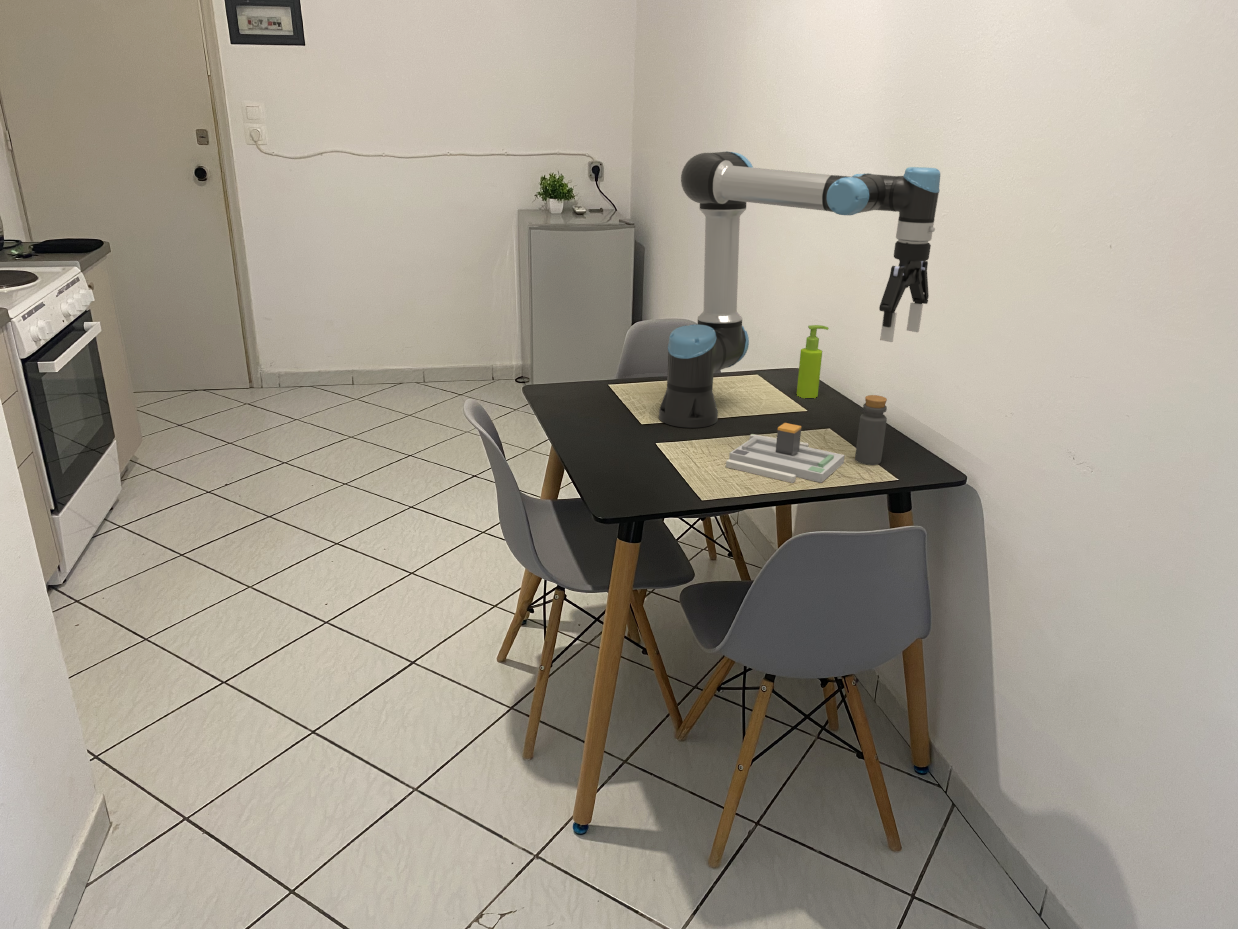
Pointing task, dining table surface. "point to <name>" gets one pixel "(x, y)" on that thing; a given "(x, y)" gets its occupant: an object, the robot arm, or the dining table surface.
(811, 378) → the soap dispenser
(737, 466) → the light grey long bar
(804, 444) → the light grey thin bar
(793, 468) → the panel
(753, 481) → the dining table surface
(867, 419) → the bottle
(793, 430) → the knob
